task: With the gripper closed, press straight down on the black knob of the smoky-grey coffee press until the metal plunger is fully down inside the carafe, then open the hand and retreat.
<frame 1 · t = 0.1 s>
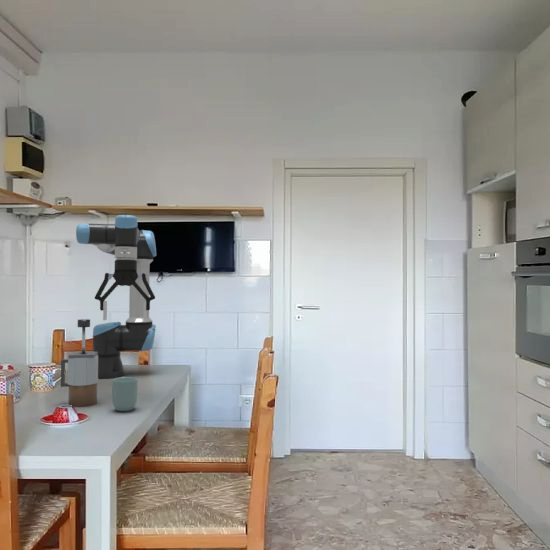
hand: (125, 320, 174), 28 cm above the table, fingers open, 13 cm apart
plunger: (83, 339, 168), point 22 cm above the table, slide at 0.0 cm
cup: (124, 410, 160), on the table
carafe: (82, 403, 168), on the table
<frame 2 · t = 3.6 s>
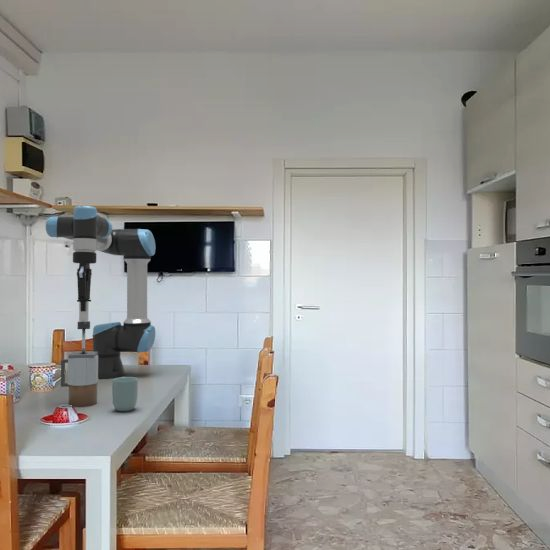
hand: (83, 320, 168), 28 cm above the table, fingers closed
plunger: (83, 341, 168), point 21 cm above the table, slide at 0.6 cm, touching gripper
everything else where it was.
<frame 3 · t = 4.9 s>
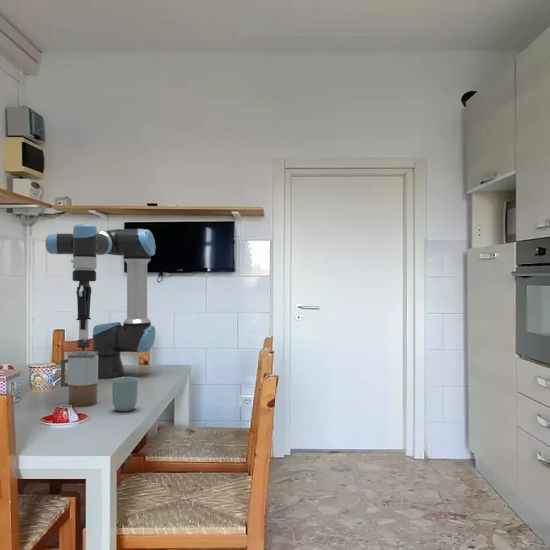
hand: (83, 339, 168), 22 cm above the table, fingers closed
plunger: (83, 360, 168), point 15 cm above the table, slide at 6.8 cm, touching gripper
everything else where it was.
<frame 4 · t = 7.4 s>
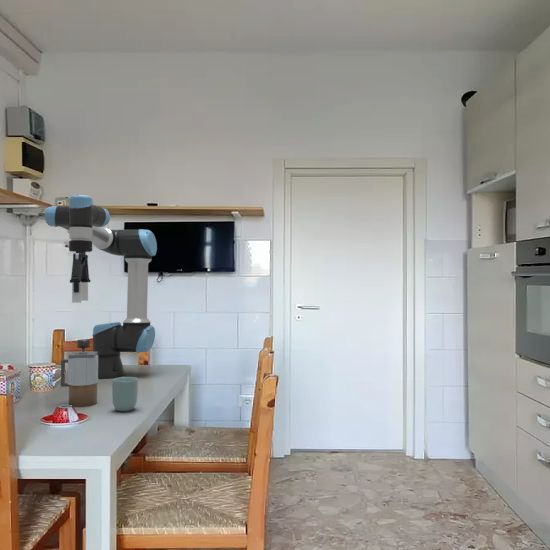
hand: (80, 301, 171), 34 cm above the table, fingers open, 13 cm apart
plunger: (83, 360, 168), point 15 cm above the table, slide at 6.9 cm
everything else where it was.
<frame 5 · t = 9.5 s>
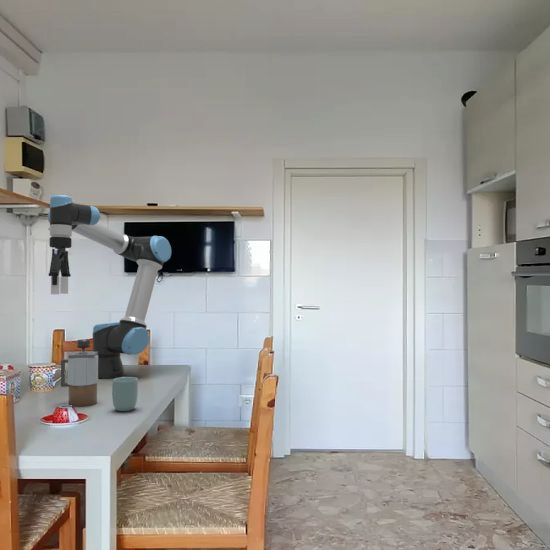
hand: (59, 294, 184), 37 cm above the table, fingers open, 13 cm apart
nothing on the table moved.
at the end: plunger slide at 6.9 cm; plunger touching nothing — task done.
